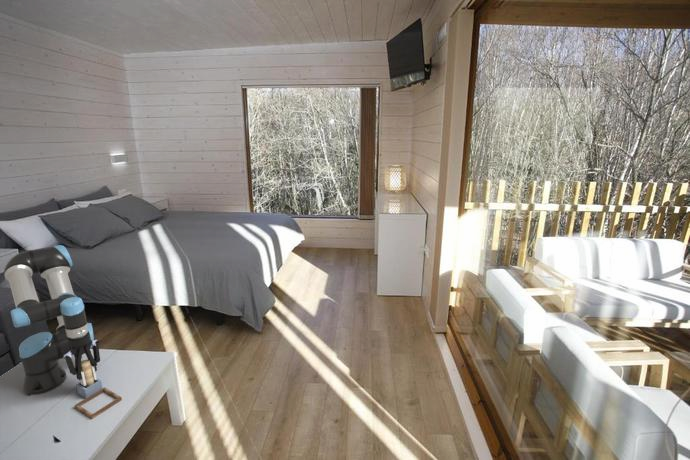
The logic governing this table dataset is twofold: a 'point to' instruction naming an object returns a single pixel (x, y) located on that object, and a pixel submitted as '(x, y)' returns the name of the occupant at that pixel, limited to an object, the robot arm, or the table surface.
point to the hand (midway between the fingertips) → (88, 381)
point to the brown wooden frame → (117, 399)
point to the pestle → (87, 372)
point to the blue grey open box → (89, 388)
